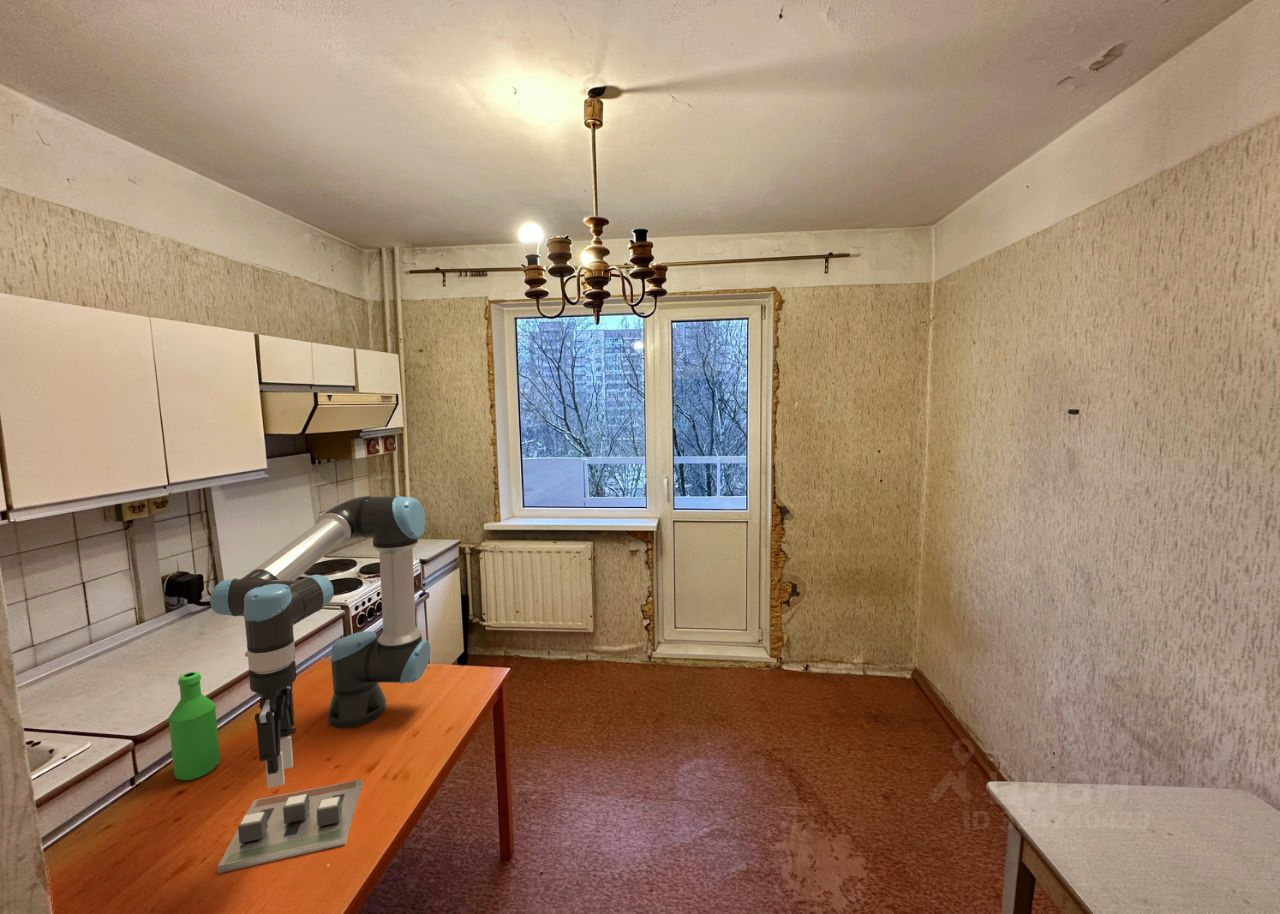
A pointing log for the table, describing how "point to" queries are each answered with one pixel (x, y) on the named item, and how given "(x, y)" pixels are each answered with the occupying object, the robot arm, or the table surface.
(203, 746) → the bottle
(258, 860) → the panel
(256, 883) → the table surface
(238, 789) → the table surface
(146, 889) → the table surface
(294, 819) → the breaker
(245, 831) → the breaker
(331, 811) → the block
